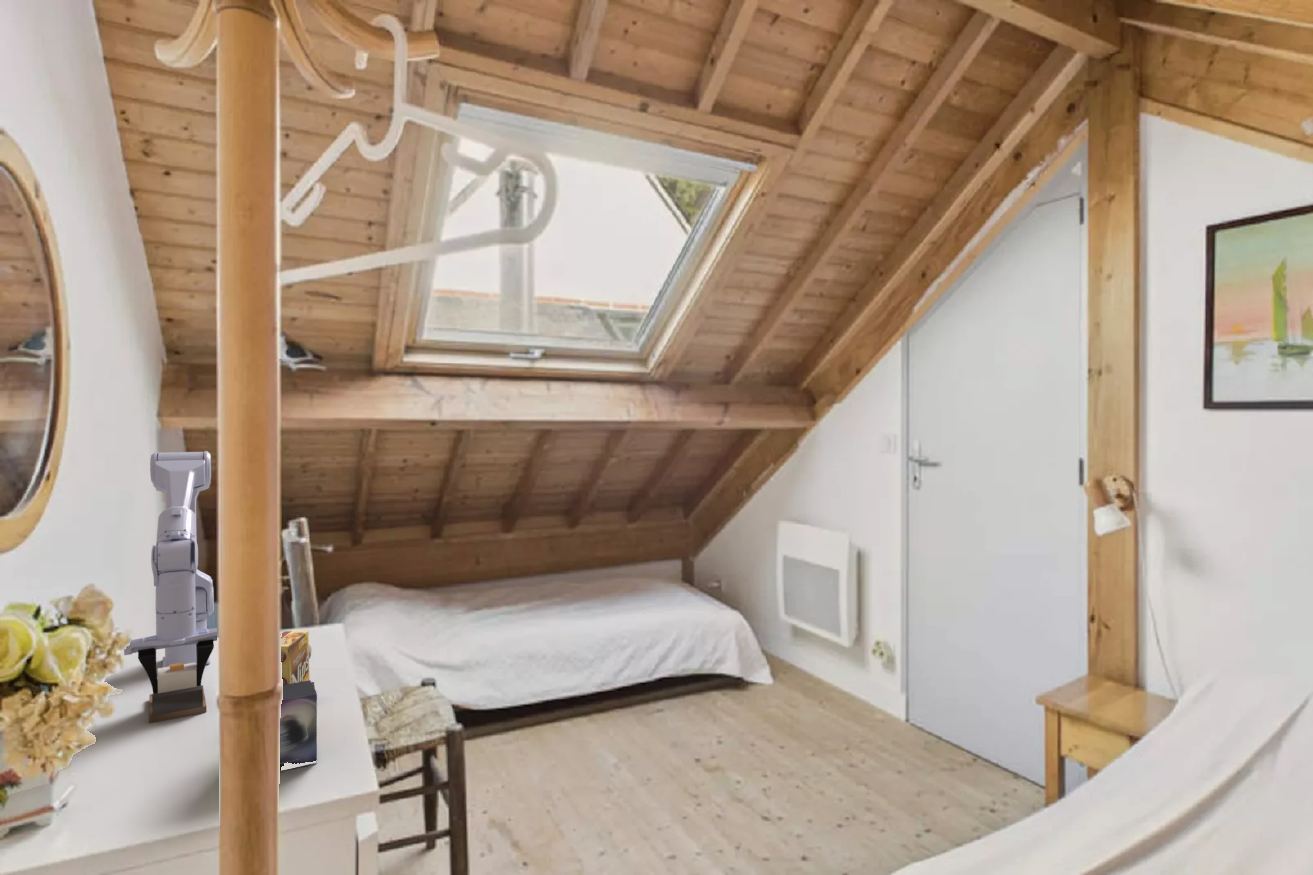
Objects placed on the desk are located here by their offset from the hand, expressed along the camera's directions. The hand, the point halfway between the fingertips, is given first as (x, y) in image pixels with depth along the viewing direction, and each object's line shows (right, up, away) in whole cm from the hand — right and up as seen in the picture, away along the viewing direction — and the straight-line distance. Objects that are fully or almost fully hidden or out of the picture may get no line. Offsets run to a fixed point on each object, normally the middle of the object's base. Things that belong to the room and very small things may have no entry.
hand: (177, 688), depth 125 cm
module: (0, -2, 0) cm, 2 cm away
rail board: (0, -3, 0) cm, 3 cm away
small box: (+28, -4, -21) cm, 35 cm away
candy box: (+25, -4, -11) cm, 28 cm away
